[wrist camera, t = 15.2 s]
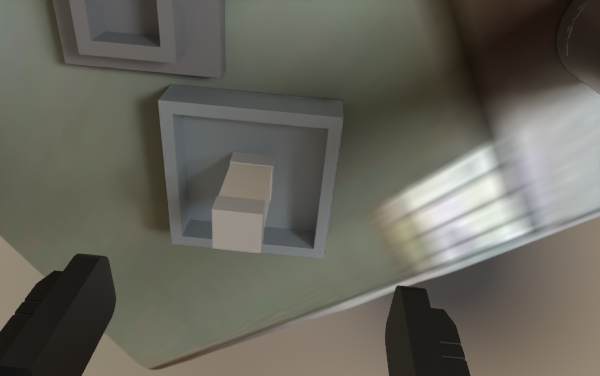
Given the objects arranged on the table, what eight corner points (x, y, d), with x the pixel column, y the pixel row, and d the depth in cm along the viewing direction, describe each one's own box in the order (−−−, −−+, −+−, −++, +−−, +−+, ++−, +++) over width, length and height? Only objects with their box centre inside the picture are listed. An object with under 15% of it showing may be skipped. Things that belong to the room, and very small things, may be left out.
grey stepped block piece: (223, -78, 36) (209, -74, 32) (225, 70, 43) (213, 90, 38) (47, -95, 36) (9, -93, 32) (75, 56, 43) (47, 74, 38)
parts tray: (342, 100, 43) (343, 117, 40) (324, 235, 52) (323, 258, 49) (171, 84, 44) (157, 100, 40) (181, 221, 52) (171, 244, 49)
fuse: (275, 155, 46) (262, 214, 38) (272, 190, 48) (260, 253, 40) (233, 151, 46) (211, 209, 38) (233, 186, 48) (212, 248, 40)
